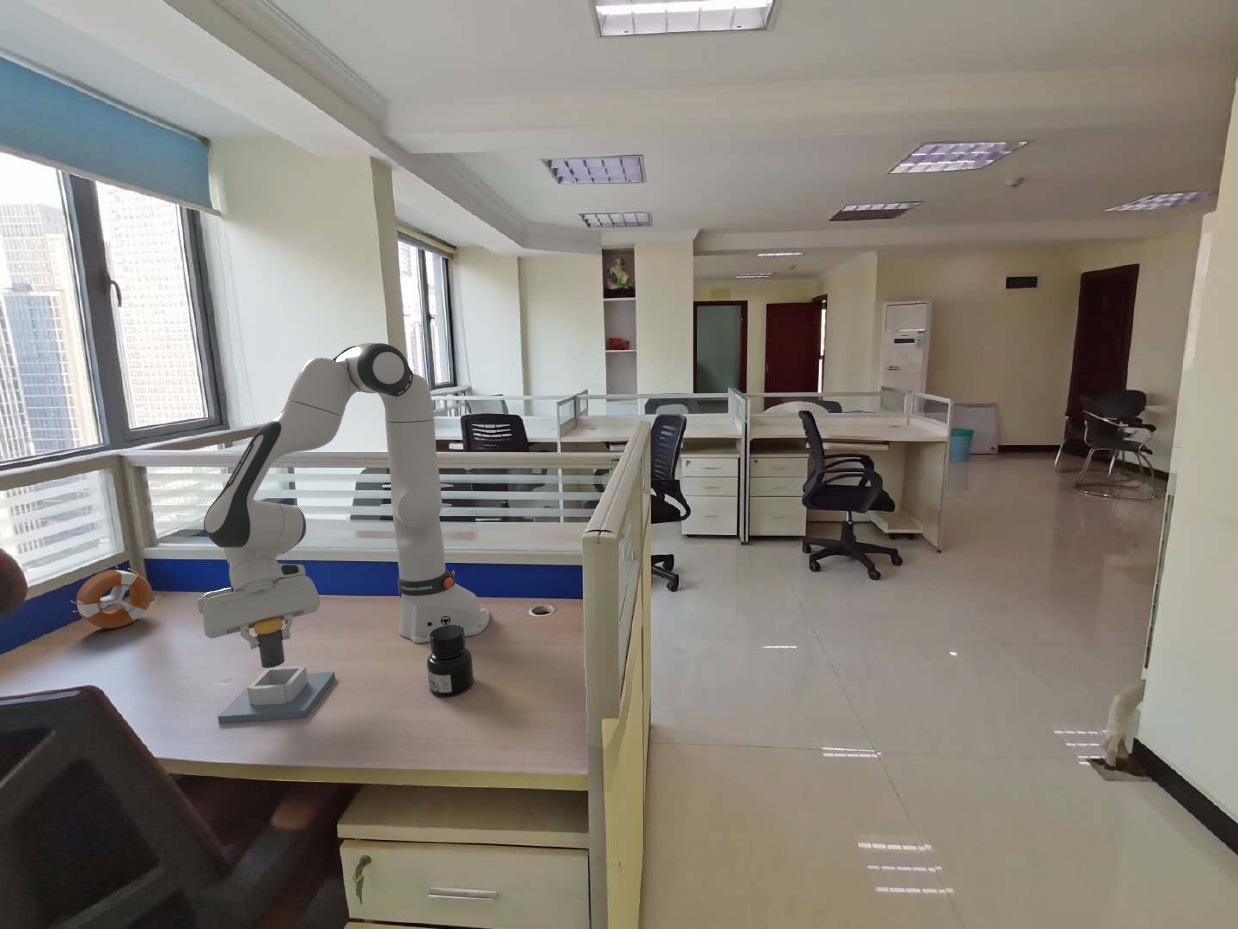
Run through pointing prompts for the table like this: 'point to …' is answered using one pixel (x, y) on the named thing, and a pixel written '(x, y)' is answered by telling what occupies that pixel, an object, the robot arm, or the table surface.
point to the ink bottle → (449, 662)
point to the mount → (278, 695)
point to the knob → (270, 642)
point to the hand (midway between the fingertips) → (271, 642)
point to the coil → (113, 598)
